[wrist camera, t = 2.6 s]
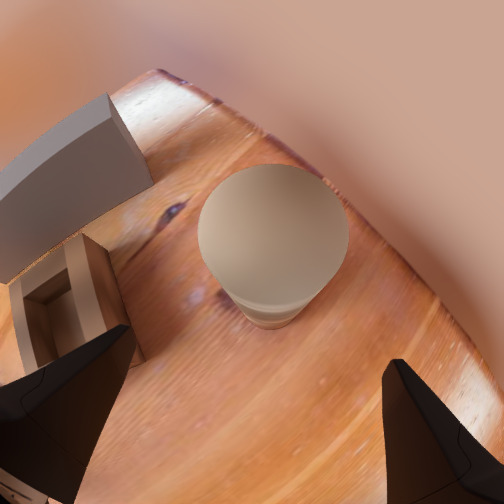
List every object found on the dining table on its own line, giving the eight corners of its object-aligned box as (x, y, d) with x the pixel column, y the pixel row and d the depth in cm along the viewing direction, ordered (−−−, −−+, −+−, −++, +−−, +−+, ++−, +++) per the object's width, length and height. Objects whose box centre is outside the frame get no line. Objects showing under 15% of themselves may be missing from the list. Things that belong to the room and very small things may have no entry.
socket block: (145, 361, 18) (119, 363, 14) (62, 394, 17) (33, 397, 13) (107, 250, 21) (81, 232, 17) (36, 295, 20) (8, 286, 16)
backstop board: (154, 184, 23) (111, 116, 15) (5, 284, 21) (-50, 260, 13) (144, 157, 25) (106, 92, 16) (3, 255, 22) (-47, 227, 14)
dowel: (306, 286, 20) (362, 191, 7) (285, 338, 18) (321, 327, 6) (255, 266, 20) (235, 149, 8) (233, 317, 19) (172, 266, 7)
